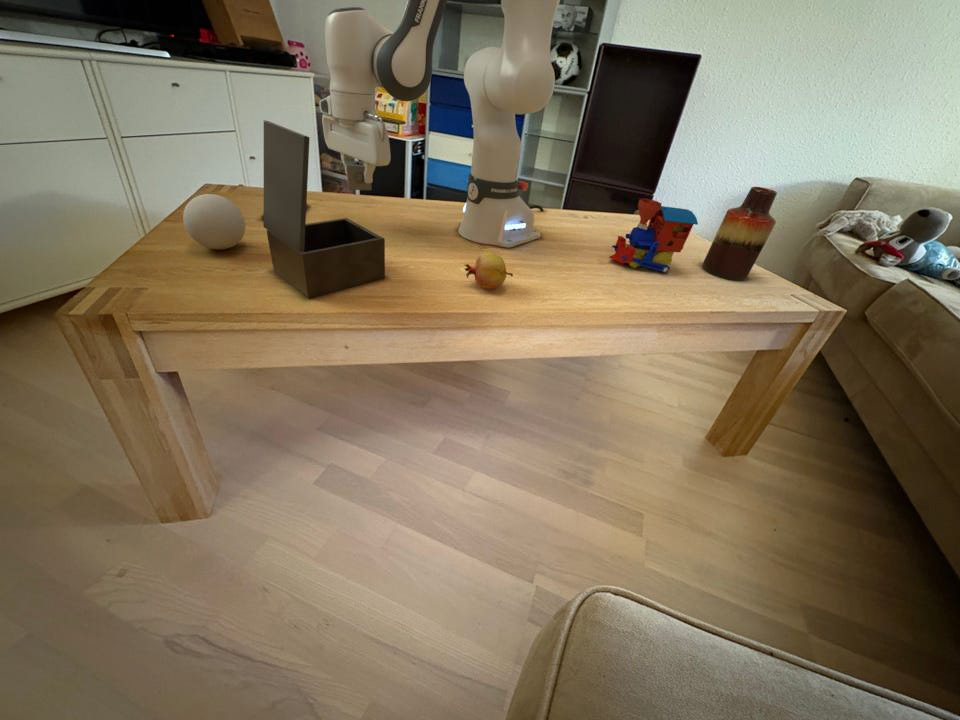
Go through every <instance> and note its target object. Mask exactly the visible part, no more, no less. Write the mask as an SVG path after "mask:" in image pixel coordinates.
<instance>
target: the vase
mask: <svg viewBox="0 0 960 720" xmlns="http://www.w3.org/2000/svg"><path fill="white" fill-rule="evenodd" d="M777 195H778V192H777V191H776V190H774V189H770V188H768V187H767V188H766V187H761V186H751V188H750V189H749V191H748V193H747V194H746V197H745V198H744V199H743V201H742V204H740V206H735V207H730V208H728V210H726V212H725V215H724V216H723V219H722V221H721V223H720V225H719V228H718V230H717V232H716V233H715V236H714V238H713V240H712V242H711V245H710V246H709V249H708V252H707V254H706V255H705V258H704V260H703V262H702V265H701V267H702V269H703V270H705V271H706V272H707V273H709V274H711V275H713V276H715V277H719V278H721V279H725V280H729V281H735V282H736V281H737V282H738V281H745V280H747V278H748V277H749V274H750V272H751V271H752V269H753V267H754V266H755V263H756V262H757V260H758V257H759V256H760V254H761V252H762V250H763V248H764V246H765V244H766V243H767V241H768V239H769V237H770V235H771V233H772V232H773V229H774V227H775V226H776V224H777V220H776V218H775V217H774V216H773V215H772V214H770V211H771V209H772V206H773V204H774V202H775V200H776V197H777Z"/></svg>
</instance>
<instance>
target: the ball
mask: <svg viewBox="0 0 960 720" xmlns="http://www.w3.org/2000/svg"><path fill="white" fill-rule="evenodd" d="M182 220H183V221H182V222H183V225H184V228H185V230H186V232H187V234H188V235H189V236H190V237H191V239H193V240H194V241H195V242H196V243H198V244H199V245H201V246H203V247H205V248H209V249H213V250H226V249H230V248H233V247H235V246H236V245H238V244H239V243H240V242H241V241H242V240H243V238H244V236H245V233H246V220H245V217H244V214H243V213H242V211H241V210H240V208H239V207H238V206H237V205H236V204H235V203H234V202H232V201H231V200H230V199H228V198H226V197H224V196H221V195H218V194H213V193H205V194H200V195H197V196H195V197H193V198H191V199H190V200H189V201H188V203H187V204H186V205H185V207H184V210H183V213H182Z"/></svg>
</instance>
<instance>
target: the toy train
mask: <svg viewBox="0 0 960 720" xmlns="http://www.w3.org/2000/svg"><path fill="white" fill-rule="evenodd" d="M637 208H638V209H637V210H638V214H639V217H640V220H639V222H638V224H637V225H636V227H633V228H632V230H631V231H630V233H626V234H625V237H624V236H623V235H618V236H617V239H616V243H615V244H612V246H611V248H613V249H614V252H615V253H614V254H612V255H610V256H608V258H609V259H611V260H614V261H616V262H618V263H621V264H625V263H626V264H628V265H629V266H630V268H634V269H637V268H638V267H644V268H648V269H651V270H654V271H657V272H662V273H664V274H667V273H668V272H669V270H670V265H671V263H672V262H673V255H674V254H675V253H681V252H682V250H683V249H684V246H685V243H686V241H687V239H688V237H689V236H690V233H691V230H692V229H693V226H694V225H699V222H698V219H697V216H696V215H695V213H694V212H693V211H692V210H690V209H688V208H680V207H671V206H663V205H662V202H660V201H657V200H655V199H652V198H651V199H650V198H639V200H638V204H637ZM648 221H649V222H648ZM647 223H648V224H647ZM627 240H628V243H627Z"/></svg>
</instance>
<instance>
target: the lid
mask: <svg viewBox="0 0 960 720" xmlns="http://www.w3.org/2000/svg"><path fill="white" fill-rule="evenodd" d="M310 138H311V137H309V136H308V135H305V134H302V133H300V132H297V131H294V130H292V129H290V128H287V127H284V126H282V125H279V124H277V123H275V122H271V121H269V120H265V119H264V120H263V215H264V220H263V228H264V229H266V231H267V230H269V231H270V232H272V233H273V234H275V235H276V236H278V237H279V238H280V239H282V240H283V241H285V242H286V243H288V244H289V245H291V246H292V247H294V248H295V249H297V250H298V251H299V252H304V246H305V225H306V224H307V223H306V222H307V205H306V203H307V200H308V181H309V160H310V159H309V158H310ZM307 204H308V203H307Z"/></svg>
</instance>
